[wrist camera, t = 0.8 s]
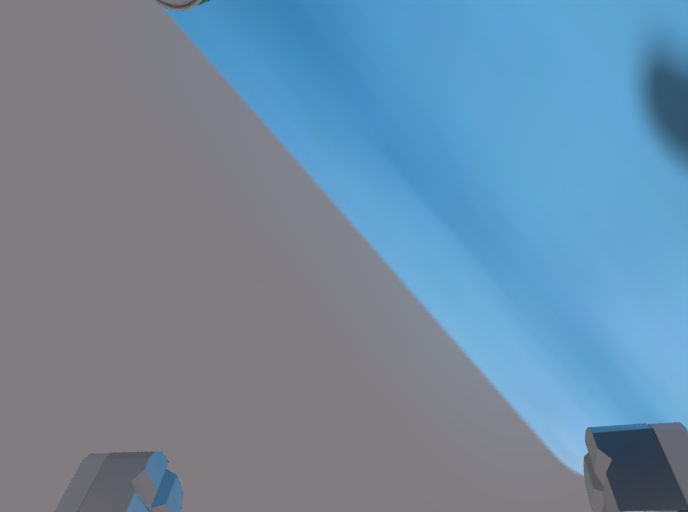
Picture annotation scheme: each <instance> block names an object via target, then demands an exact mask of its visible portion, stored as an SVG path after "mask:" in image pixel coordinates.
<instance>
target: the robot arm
mask: <svg viewBox="0 0 688 512" xmlns="http://www.w3.org/2000/svg"><path fill="white" fill-rule="evenodd" d="M585 443H586V446H587V449H588V452H589V453H588V454H587V455H585V456H584V477H585V485H586V490H587V494H588V498H589V502H590V505H591V509H592V511H593V512H688V431H687V429H686V427H684V426H683V425H682V424H681V423H679V422H674V423H658V424H646V423H645V424H630V425H615V426H601V427H588V428H587V430H586V434H585ZM168 462H169V461H168V459H167V458H166V456H165V455H164V453H163V452H162V451H154V452H122V453H121V452H120V453H115V452H114V453H92V454H89V455H88V456H87V457H86V458H85V459H84V460H83V461H82V462H81V464H80V466H79V468H78V469H77V471H76V473H75V475H74V477H73V478H72V480H71V482H70V484H69V486H68V488H67V489H66V491H65V493H64V495H63V497H62V498H61V500H60V502H59V504H58V506H57V508H56V509H55V511H54V512H181V509H182V500H183V491H182V486H181V482H180V481H179V479H178V477H177V475H176V474H174V473H172V472H171V471H169V470H167V469H166V467H167V465H168Z"/></svg>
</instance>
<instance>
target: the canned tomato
mask: <svg viewBox="0 0 688 512" xmlns="http://www.w3.org/2000/svg"><path fill="white" fill-rule="evenodd" d="M153 1H155V2H156V3H157V4H159V5H161V6H163V7H164V8H167V9H170V10H174V11H184V10H189V9H191V8H193V7H195V6H197V5H200V4H203V3H205V2H208V1H210V0H153Z"/></svg>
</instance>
